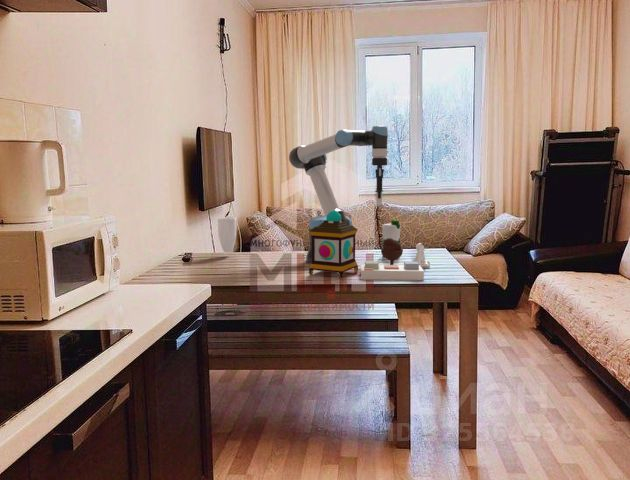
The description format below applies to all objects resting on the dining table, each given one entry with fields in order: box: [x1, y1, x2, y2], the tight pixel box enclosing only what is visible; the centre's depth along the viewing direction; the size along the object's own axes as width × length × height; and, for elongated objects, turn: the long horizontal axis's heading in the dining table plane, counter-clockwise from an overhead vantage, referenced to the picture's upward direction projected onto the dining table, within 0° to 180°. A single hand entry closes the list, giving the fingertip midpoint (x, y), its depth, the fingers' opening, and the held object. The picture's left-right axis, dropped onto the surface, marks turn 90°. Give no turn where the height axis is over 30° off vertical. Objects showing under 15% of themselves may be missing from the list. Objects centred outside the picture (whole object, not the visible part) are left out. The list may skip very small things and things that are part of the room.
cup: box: [217, 216, 237, 253], centre depth 313 cm, size 10×10×22 cm
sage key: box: [364, 260, 380, 269], centre depth 260 cm, size 6×6×4 cm
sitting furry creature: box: [412, 242, 431, 269], centre depth 283 cm, size 10×9×12 cm
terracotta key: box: [383, 264, 399, 269], centre depth 259 cm, size 6×6×4 cm
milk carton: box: [381, 220, 402, 258], centre depth 310 cm, size 9×9×20 cm
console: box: [360, 264, 425, 281], centre depth 259 cm, size 28×14×5 cm, turn 86°
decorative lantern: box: [308, 210, 359, 279], centre depth 264 cm, size 20×20×30 cm
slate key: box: [403, 260, 419, 269], centre depth 259 cm, size 6×6×4 cm
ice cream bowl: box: [380, 238, 404, 265], centre depth 277 cm, size 11×11×15 cm
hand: (379, 204), depth 285 cm, fingers closed
